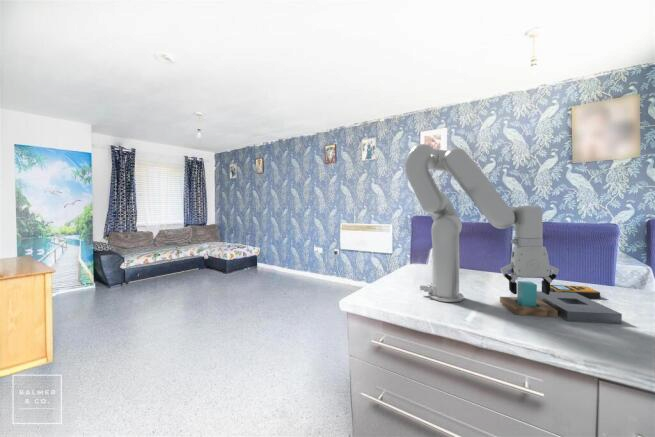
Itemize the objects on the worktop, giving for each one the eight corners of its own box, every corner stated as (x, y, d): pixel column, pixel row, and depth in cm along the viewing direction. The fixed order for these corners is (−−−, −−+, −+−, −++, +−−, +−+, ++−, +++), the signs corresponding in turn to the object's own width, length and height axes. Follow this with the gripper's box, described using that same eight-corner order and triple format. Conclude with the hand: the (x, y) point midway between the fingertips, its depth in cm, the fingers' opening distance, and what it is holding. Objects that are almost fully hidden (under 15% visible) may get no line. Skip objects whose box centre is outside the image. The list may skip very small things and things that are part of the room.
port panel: (567, 321, 86) (567, 311, 86) (532, 299, 105) (532, 291, 105) (621, 323, 83) (621, 313, 83) (575, 300, 103) (575, 292, 103)
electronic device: (601, 300, 104) (602, 291, 104) (552, 298, 108) (553, 289, 108) (586, 293, 112) (587, 285, 112) (541, 291, 116) (541, 283, 116)
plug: (522, 310, 94) (523, 284, 94) (517, 306, 98) (517, 281, 98) (536, 311, 94) (536, 284, 93) (530, 307, 98) (530, 281, 97)
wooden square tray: (515, 314, 91) (515, 308, 91) (499, 302, 103) (499, 296, 103) (557, 316, 89) (557, 310, 89) (536, 303, 101) (536, 298, 101)
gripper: (505, 244, 93) (506, 296, 93) (565, 243, 89) (565, 297, 90) (495, 241, 100) (496, 289, 101) (551, 240, 97) (551, 290, 97)
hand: (529, 293), depth 95 cm, fingers open, 9 cm apart
